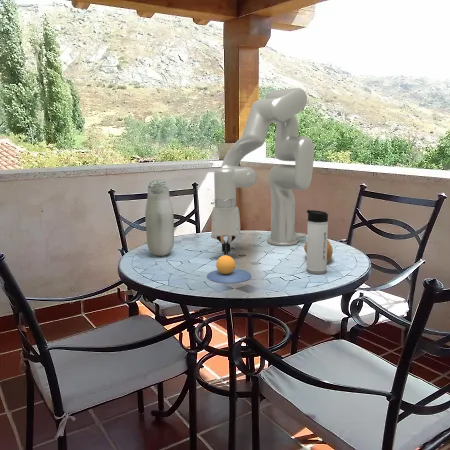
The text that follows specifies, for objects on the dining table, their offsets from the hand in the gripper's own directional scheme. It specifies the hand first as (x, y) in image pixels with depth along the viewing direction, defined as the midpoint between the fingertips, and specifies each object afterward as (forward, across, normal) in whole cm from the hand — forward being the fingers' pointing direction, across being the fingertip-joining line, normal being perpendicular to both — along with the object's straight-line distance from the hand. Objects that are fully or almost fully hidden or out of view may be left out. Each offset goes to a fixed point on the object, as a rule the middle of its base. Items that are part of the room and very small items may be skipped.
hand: (226, 253), depth 159 cm
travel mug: (+2, +28, -19) cm, 34 cm away
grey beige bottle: (+2, -24, +6) cm, 25 cm away
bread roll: (+2, +32, -5) cm, 33 cm away
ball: (-2, -1, -19) cm, 19 cm away
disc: (+2, 0, -21) cm, 21 cm away
